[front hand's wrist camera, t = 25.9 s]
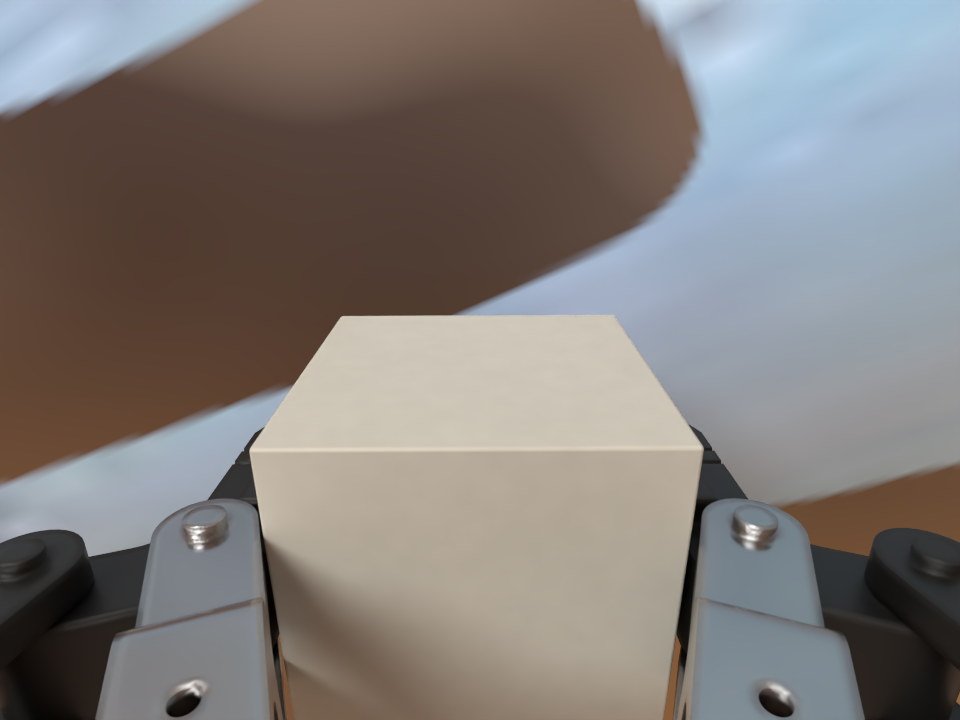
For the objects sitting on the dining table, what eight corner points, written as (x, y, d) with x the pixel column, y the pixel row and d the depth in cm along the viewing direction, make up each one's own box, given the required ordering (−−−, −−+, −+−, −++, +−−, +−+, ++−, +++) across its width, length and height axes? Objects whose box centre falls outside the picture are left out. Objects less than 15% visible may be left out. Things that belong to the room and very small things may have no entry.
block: (340, 315, 11) (247, 449, 7) (614, 313, 11) (706, 447, 7) (362, 540, 13) (299, 763, 9) (597, 539, 13) (659, 762, 9)
